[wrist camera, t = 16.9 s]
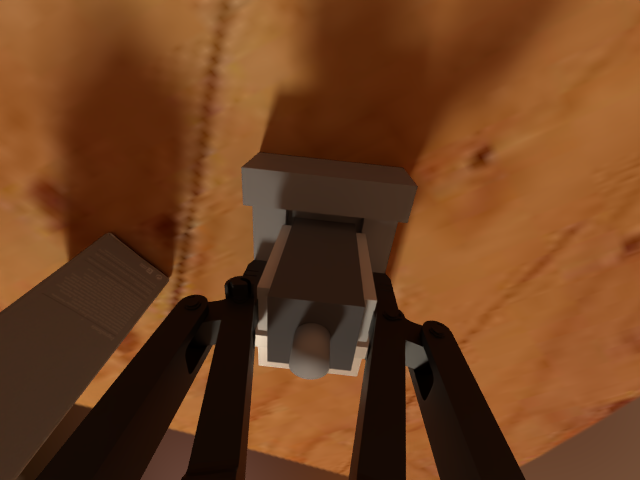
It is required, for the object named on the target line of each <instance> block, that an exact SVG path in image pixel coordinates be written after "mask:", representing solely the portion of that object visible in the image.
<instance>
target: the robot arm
mask: <svg viewBox="0 0 640 480" xmlns="http://www.w3.org/2000/svg"><path fill="white" fill-rule="evenodd" d="M291 227H292V226H291V225H282V228H281V230H280V232H279V235H278V237H277V240H276V242H275V245H274V247H273V249H272V252H271V254H270V257H269V259H268V261H264V260H253V261H252V262H251V263H249V264H248V266H247V268H246V271H245V272H244V274H243V276H237V277H233V278H231V279H229V280H228V281H226V283H225V295H226V299H224V300H220V301H213V302H208V300H207V298H206V297H204V296H202V295H191V296H187V297H185V298H183V299H182V300H180V301H179V302H178V303H177V305H176V306H175V307H174V308H173V310H172V311H171V312H170V313H169V315H168V316H167V317H166V318H165V320H164V321H163V322H162V323H161V325H160V326H159V327H158V328H157V329H156V331H155V332H154V333H153V334H152V336H151V337H150V338H149V339H148V341H147V342H146V343H145V344H144V346H143V347H142V348H141V349H140V351H139V352H138V353H137V354H136V356H135V357H134V358H133V359H132V360H131V362H130V363H129V364H128V365H127V367H126V368H125V369H124V370H123V372H122V373H121V374H120V375H119V377H118V378H117V379H116V380H115V382H114V383H113V384H112V385H111V386H110V388H109V389H108V390H107V391H106V393H105V394H104V395H103V396H102V398H101V399H100V400H99V401H98V403H97V404H96V405H95V406H94V408H93V409H92V410H91V411H90V413H89V414H88V415H87V416H86V417H85V419H84V420H83V421H82V422H81V424H80V425H79V426H78V427H77V429H76V430H75V431H74V432H73V434H72V435H71V436H70V437H69V439H68V440H67V441H66V442H65V444H64V445H63V446H62V447H61V449H60V450H59V451H58V452H57V454H56V455H55V456H54V457H53V458H52V460H51V461H50V462H49V463H48V465H47V466H46V467H45V468H44V470H43V471H42V472H41V473H40V474H39V476H38V477H37V478H36V479H35V480H140V479H141V477H142V475H143V474H144V472H145V470H146V468H147V466H148V464H149V462H150V460H151V459H152V457H153V455H154V453H155V451H156V449H157V448H158V446H159V444H160V442H161V440H162V438H163V436H164V435H165V433H166V431H167V429H168V427H169V425H170V423H171V422H172V420H173V418H174V416H175V414H176V412H177V410H178V409H179V407H180V405H181V403H182V401H183V399H184V397H185V396H186V394H187V392H188V390H189V388H190V386H191V384H192V383H193V381H194V379H195V377H196V375H197V373H198V371H199V370H200V368H201V366H202V364H203V362H204V360H205V359H206V357H207V355H208V353H209V351H210V349H211V347H212V345H214V344H216V345H215V349H214V354H213V358H212V363H211V367H210V372H209V376H208V381H207V385H206V390H205V394H204V399H203V403H202V407H201V412H200V416H199V421H198V425H197V430H196V434H195V439H194V443H193V448H192V453H191V457H190V461H189V466H188V469H187V472H186V474H185V475H184V476H183V477H182V479H181V480H245V470H246V457H247V445H248V431H249V418H250V405H251V391H252V378H253V365H254V351H255V338H256V332H255V330H256V327H257V324H258V330H265V331H267V295H268V293H269V290H270V287H271V284H272V281H273V278H274V275H275V272H276V270H277V267H278V264H279V261H280V258H281V255H282V252H283V250H284V247H285V244H286V241H287V238H288V235H289V232H290V229H291ZM356 236H357V244H358V252H359V261H360V269H361V277H362V286H363V294H364V302H365V310H364V314H363V319H362V323H361V328H360V332H359V337H358V341H362V342H367V339H368V335H369V345H368V349H367V353H366V357H365V360H366V363H365V369H364V376H363V383H362V390H361V397H360V404H359V411H358V418H357V425H356V432H355V439H354V446H353V453H352V460H351V467H350V474H349V480H406V395H405V365H406V366H408V368H409V372H410V375H411V379H412V382H413V386H414V389H415V393H416V396H417V400H418V403H419V407H420V410H421V414H422V417H423V421H424V424H425V428H426V431H427V435H428V438H429V442H430V445H431V449H432V452H433V456H434V459H435V463H436V466H437V470H438V473H439V477H440V480H525V478H524V476H523V474H522V472H521V470H520V468H519V466H518V464H517V462H516V460H515V458H514V456H513V454H512V452H511V450H510V448H509V446H508V444H507V442H506V440H505V438H504V436H503V434H502V432H501V430H500V428H499V426H498V424H497V422H496V420H495V418H494V416H493V414H492V412H491V410H490V408H489V406H488V404H487V402H486V400H485V398H484V396H483V394H482V392H481V390H480V388H479V386H478V384H477V382H476V380H475V378H474V376H473V374H472V372H471V370H470V368H469V366H468V364H467V362H466V360H465V358H464V356H463V354H462V352H461V350H460V348H459V346H458V344H457V342H456V340H455V338H454V336H453V334H452V332H451V331H450V330H449V328H448V327H446V326H445V325H444V324H442V323H440V322H437V321H426V322H425V323H424V324H423V326H422V325H419V324H416V323H413V322H411V321H409V320H407V319H406V318H405V316H404V314H403V313H402V312H401V311H400V310H399V309H398V306H397V303H396V299H395V295H394V292H393V287H392V284H391V280H390V278H389V277H388V276H387V275H386V274H385V273H376V272H372V269H371V263H370V257H369V251H368V246H367V240H366V234H363V233H356Z"/></svg>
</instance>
